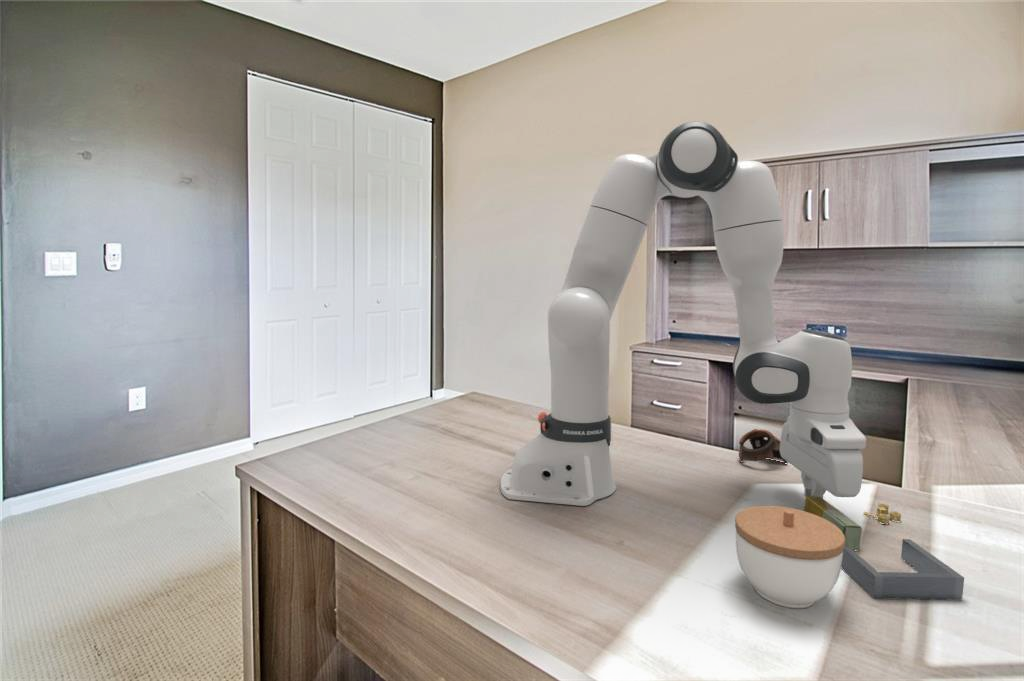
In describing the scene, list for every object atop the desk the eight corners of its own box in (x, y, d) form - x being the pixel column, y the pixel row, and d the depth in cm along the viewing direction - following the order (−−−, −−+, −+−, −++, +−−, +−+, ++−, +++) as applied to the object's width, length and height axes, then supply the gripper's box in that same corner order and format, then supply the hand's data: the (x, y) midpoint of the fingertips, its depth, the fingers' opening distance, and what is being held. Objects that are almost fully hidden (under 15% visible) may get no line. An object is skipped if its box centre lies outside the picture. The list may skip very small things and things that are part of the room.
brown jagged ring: (798, 472, 115) (786, 442, 112) (754, 488, 117) (741, 459, 114) (775, 441, 126) (763, 413, 123) (736, 456, 128) (723, 429, 125)
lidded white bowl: (733, 609, 67) (737, 524, 66) (731, 559, 79) (734, 486, 78) (850, 632, 63) (857, 542, 62) (830, 576, 75) (835, 499, 73)
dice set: (882, 513, 95) (883, 502, 95) (908, 526, 90) (909, 515, 90) (857, 515, 94) (858, 505, 94) (881, 529, 89) (882, 518, 89)
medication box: (861, 553, 81) (863, 527, 81) (843, 552, 81) (845, 527, 81) (818, 517, 93) (819, 494, 93) (802, 516, 93) (803, 494, 93)
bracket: (873, 598, 69) (875, 576, 69) (830, 557, 79) (832, 538, 79) (962, 599, 69) (964, 577, 69) (908, 558, 79) (909, 539, 79)
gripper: (772, 409, 104) (768, 478, 106) (831, 442, 84) (826, 527, 85) (806, 409, 104) (801, 478, 105) (873, 442, 83) (867, 527, 85)
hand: (813, 500), depth 95 cm, fingers closed
